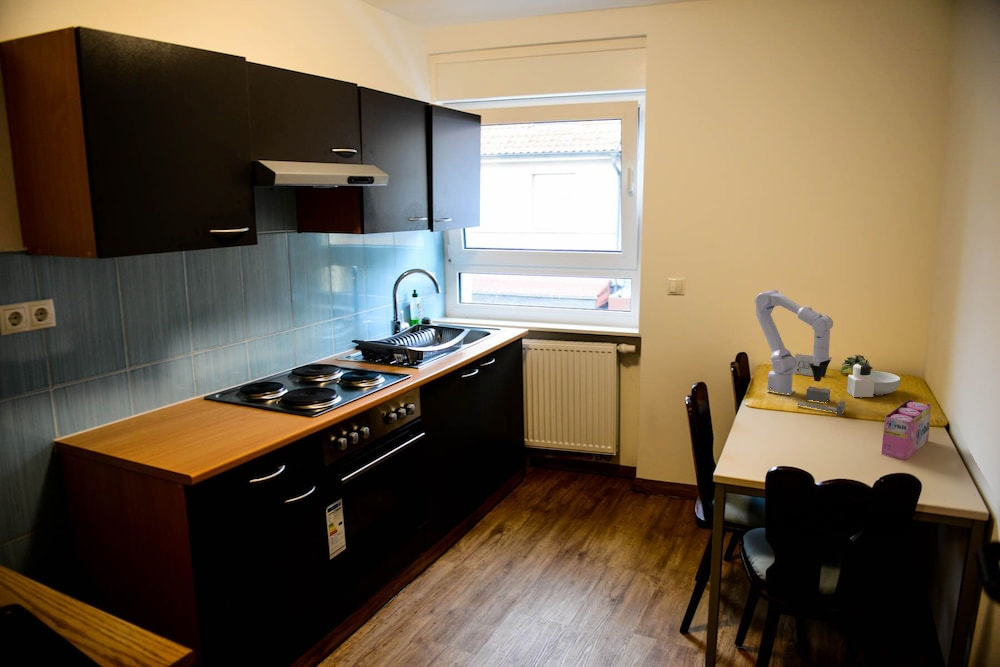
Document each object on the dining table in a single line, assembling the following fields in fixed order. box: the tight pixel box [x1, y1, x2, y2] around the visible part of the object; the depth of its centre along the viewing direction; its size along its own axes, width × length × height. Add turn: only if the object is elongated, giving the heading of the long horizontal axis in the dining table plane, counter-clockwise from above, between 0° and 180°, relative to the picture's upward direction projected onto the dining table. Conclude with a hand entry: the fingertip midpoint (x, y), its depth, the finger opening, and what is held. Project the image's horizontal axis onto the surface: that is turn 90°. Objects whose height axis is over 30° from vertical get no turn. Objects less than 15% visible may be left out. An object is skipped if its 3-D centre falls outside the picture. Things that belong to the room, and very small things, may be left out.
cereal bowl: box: [870, 370, 901, 396], centre depth 299 cm, size 17×17×7 cm
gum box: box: [881, 399, 932, 461], centre depth 243 cm, size 24×8×14 cm, turn 133°
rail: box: [797, 400, 846, 417], centre depth 281 cm, size 16×7×4 cm, turn 54°
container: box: [846, 364, 875, 399], centre depth 295 cm, size 8×8×13 cm
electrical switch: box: [793, 353, 814, 377], centre depth 327 cm, size 9×5×9 cm, turn 53°
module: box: [805, 385, 831, 404], centre depth 291 cm, size 8×5×6 cm, turn 54°
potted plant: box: [838, 354, 874, 375], centre depth 323 cm, size 11×11×12 cm
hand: (819, 378), depth 290 cm, fingers open, 7 cm apart
